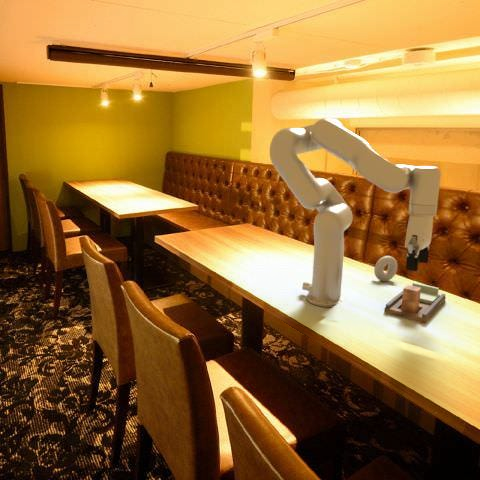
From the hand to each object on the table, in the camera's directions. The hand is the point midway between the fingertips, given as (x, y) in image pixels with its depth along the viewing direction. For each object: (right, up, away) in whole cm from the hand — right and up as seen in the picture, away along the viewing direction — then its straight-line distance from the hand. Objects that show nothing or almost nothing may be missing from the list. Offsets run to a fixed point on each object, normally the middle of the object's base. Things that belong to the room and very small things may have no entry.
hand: (417, 266), depth 130 cm
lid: (+6, -11, +12) cm, 17 cm away
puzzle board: (+3, -15, +9) cm, 18 cm away
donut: (+2, -8, +36) cm, 37 cm away
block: (-1, -14, +4) cm, 15 cm away
